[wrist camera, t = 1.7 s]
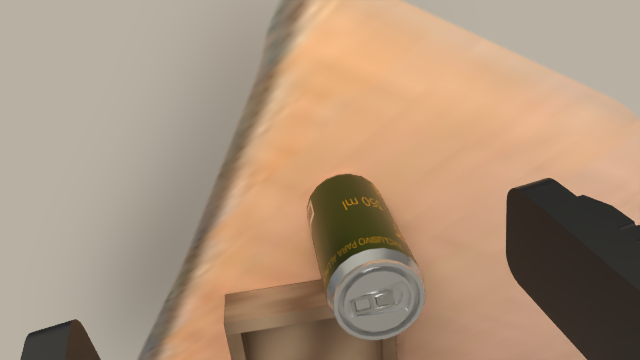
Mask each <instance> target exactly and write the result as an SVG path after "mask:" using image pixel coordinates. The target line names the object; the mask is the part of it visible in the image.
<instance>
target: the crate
mask: <svg viewBox="0 0 640 360" xmlns="http://www.w3.org/2000/svg"><path fill="white" fill-rule="evenodd" d="M224 327H225V332H226V336H227V341H228V346H229V351H230V355H231V360H397V351H396V335H395V336H392V337H390V338H387V339H380V340H367V339H360V338H358V337H355V336H353V335H351V334H349V333H347V332H346V331H345V330H344V329H343V328H342V327H341V326H340V325H339V323H338V321H337V319H336V318H335V317H334V316H333V315H332V313H331V310H330V308H329V306H328V304H327V300H326V295H325V291H324V287H323V282H322V280H315V281H309V282H303V283H297V284H290V285H284V286H278V287H271V288H265V289H259V290H252V291H246V292H240V293H234V294H227V295H225V310H224Z"/></svg>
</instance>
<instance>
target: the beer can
mask: <svg viewBox="0 0 640 360" xmlns="http://www.w3.org/2000/svg"><path fill="white" fill-rule="evenodd" d="M307 215H308V222H309V226H310V230H311V235H312V239H313V243H314V248H315V252H316V256H317V261H318V265H319V269H320V274H321V278H322V282H323V287H324V291H325V295H326V300H327V304H328V306H329V308H330V310H331V313H332V315H333V316H334V317H335V318H336V319H337V321H338V323H339V325H340V326H341V327H342V328H343V329H344V330H345V331H346V332H347V333H349V334H351V335H353V336H355V337H358V338H360V339H367V340H380V339H387V338H390V337H392V336H395V335H398V334H400V333H401V332H403V331H404V330H406V329H407V328H408V327H410V326H411V325H412V324H413V323H414V321H415V320H416V319H417V318H418V317H419V315H420V313H421V310H422V308H423V306H424V299H425V290H424V288H423V277H422V274H421V271H420V268H419V266H418V264H417V263H416V261H415V259H414V257H413V255H412V253H411V251H410V249H409V248H408V246H407V244H406V242H405V240H404V238H403V236H402V234H401V233H400V231H399V229H398V227H397V225H396V223H395V221H394V220H393V218H392V216H391V214H390V212H389V210H388V208H387V206H386V205H385V203H384V201H383V199H382V197H381V195H380V193H379V191H378V190H377V189H376V188H375V186H374V185H373V184H372V183H371V182H370V181H368V180H366V179H365V178H363V177H361V176H357V175H352V174H343V175H336V176H333V177H331V178H328V179H326V180H325V181H324V182H322V183H321V184H320V185H319V186H317V187H316V189H315V190H314V192H313V193H312V195H311V196H310V199H309V202H308V206H307Z"/></svg>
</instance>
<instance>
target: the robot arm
mask: <svg viewBox="0 0 640 360" xmlns="http://www.w3.org/2000/svg"><path fill="white" fill-rule="evenodd" d="M506 257H507V262H508V265H509V268H510V270H511V273H512V275H513V276H514V278H515V280H516V281H517V283H518V284H519V285H520V286H521V287H522V288H523V289H524V290H525V292H526V293H527V294H528V295H529V296H530V297H531V298H532V299H533V300H534V301H535V303H536V304H537V305H538V306H539V307H540V308H541V309H542V310H543V311H544V313H545V314H546V315H547V316H548V317H549V318H550V319H551V320H552V321H553V322H554V324H555V325H556V326H557V327H558V328H559V329H560V330H561V331H562V332H563V333H564V335H565V336H566V337H567V338H568V339H569V340H570V341H571V342H572V343H573V344H574V346H575V347H576V348H577V349H578V350H579V351H580V352H581V353H582V354H583V355H584V357H585V358H586V359H587V360H640V225H637V226H636V225H635V222H634V221H633V220H631V219H630V218H629V217H627V216H626V215H624V214H623V213H622V212H620V211H619V210H617V209H616V208H615V207H613V206H611V205H609V204H606V203H603V202H601V201H598V200H595V199H593V198H590V197H587V196H585V195H581V196H578V197H577V196H576V195H574V194H573V193H572V192H570V191H569V190H568V189H566V188H565V187H564V186H562V185H561V184H560V183H558V182H557V181H555V180H554V179H551V178H545V179H542V180H539V181H536V182H532V183H529V184H526V185H522V186H519V187H516V188H512V189H511V190H510V191H509V192H508V195H507V214H506ZM21 360H101V359H100V357H99V355H98V354H97V352H96V350H95V348H94V346H93V344H92V342H91V340H90V338H89V337H88V334H87V332H86V331H85V329H84V327H83V325H82V324H81V323H80V322H79V321H78V320H71V321H68V322H65V323H61V324H58V325H55V326H52V327H48V328H45V329H41V330H38V331H35V332H32V333H29V334H28V336H27V338H26V340H25V344H24V348H23V352H22V356H21Z"/></svg>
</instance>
